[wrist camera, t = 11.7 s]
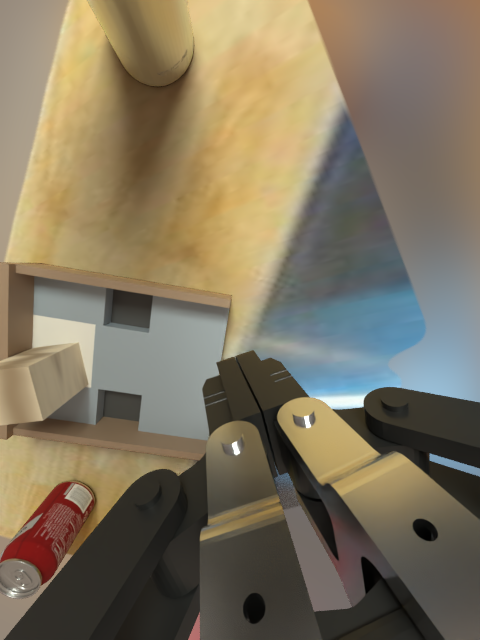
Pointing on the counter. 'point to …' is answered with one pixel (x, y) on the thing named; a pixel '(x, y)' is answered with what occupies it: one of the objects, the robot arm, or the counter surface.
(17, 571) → the soda can
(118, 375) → the tray
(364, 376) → the counter surface
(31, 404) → the birch block
